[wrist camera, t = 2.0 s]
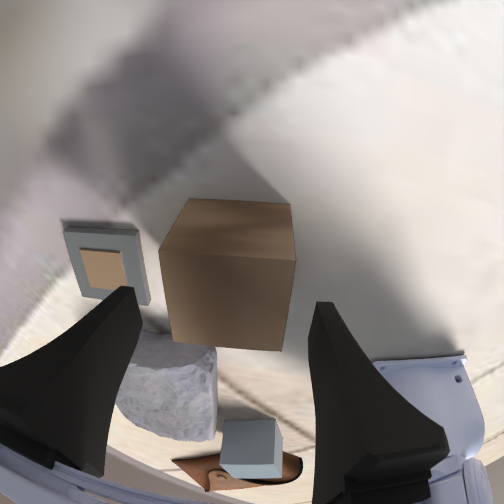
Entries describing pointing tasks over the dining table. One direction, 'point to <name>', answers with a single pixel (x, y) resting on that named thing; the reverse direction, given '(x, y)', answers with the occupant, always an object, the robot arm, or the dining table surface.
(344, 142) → the dining table surface
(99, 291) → the tile
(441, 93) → the dining table surface
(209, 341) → the walnut cube
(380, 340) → the dining table surface
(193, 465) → the sunglasses case
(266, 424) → the blue-grey cube
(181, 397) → the stone block
